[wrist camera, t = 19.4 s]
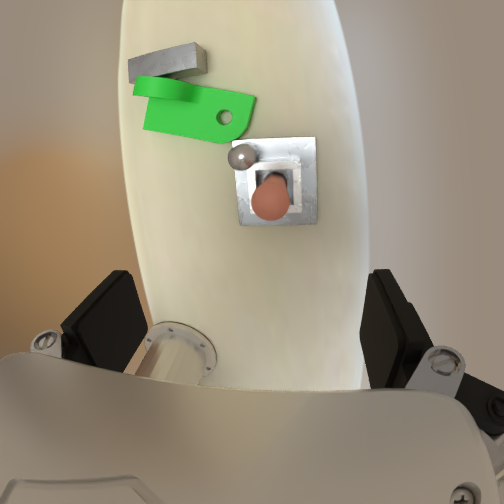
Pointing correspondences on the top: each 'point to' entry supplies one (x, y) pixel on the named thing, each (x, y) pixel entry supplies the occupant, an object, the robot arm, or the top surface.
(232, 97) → the mechanical part
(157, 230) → the top surface
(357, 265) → the top surface
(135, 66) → the block
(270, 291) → the top surface
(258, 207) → the peach peg
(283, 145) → the metal square socket base
